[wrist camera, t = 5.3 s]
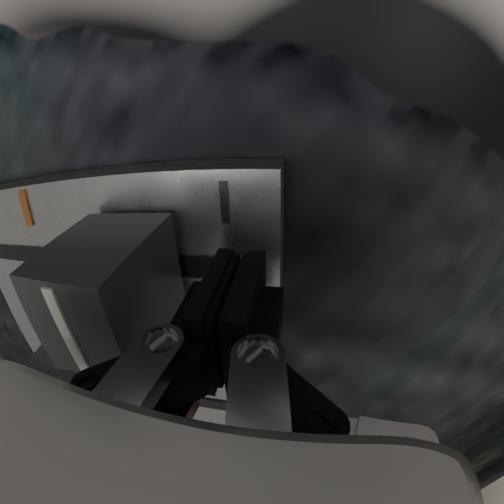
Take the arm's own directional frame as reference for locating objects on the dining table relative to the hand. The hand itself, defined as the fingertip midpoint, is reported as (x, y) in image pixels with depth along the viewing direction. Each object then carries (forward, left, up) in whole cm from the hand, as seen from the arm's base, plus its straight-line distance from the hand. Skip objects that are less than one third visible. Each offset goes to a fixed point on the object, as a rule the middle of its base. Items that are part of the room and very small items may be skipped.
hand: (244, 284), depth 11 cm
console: (-7, +9, -3) cm, 12 cm away
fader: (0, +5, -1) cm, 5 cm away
